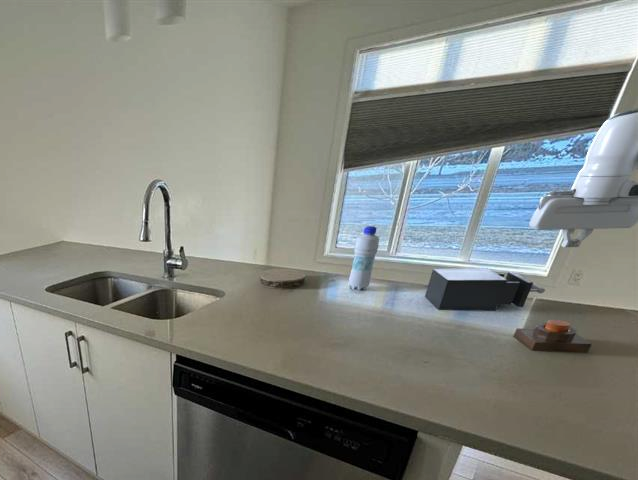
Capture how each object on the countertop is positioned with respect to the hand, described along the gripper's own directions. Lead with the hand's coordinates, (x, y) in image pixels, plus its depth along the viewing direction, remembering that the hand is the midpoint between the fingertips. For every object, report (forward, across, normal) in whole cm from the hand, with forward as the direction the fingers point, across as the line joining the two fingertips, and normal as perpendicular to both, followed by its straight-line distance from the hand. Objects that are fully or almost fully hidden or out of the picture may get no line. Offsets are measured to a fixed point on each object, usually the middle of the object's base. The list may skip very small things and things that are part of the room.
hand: (569, 246), depth 105 cm
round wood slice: (+17, -68, +21) cm, 73 cm away
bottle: (+16, -44, +14) cm, 49 cm away
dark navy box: (+16, -20, 0) cm, 26 cm away
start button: (+12, -12, -28) cm, 33 cm away
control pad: (+16, -12, -28) cm, 34 cm away
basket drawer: (+15, -11, 0) cm, 19 cm away
